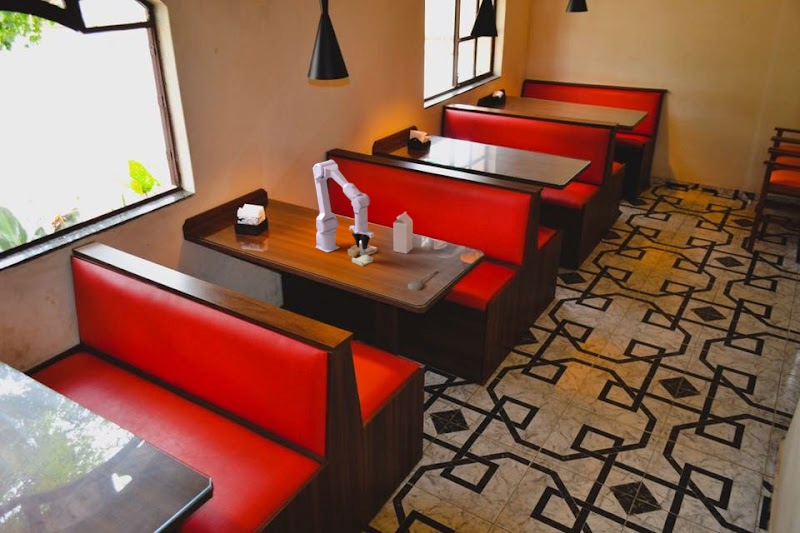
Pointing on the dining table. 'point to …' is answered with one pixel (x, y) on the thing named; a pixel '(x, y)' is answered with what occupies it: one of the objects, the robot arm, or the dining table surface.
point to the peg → (361, 251)
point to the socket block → (369, 249)
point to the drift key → (353, 252)
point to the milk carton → (403, 234)
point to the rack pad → (362, 260)
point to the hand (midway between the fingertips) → (362, 247)
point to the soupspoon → (418, 282)
